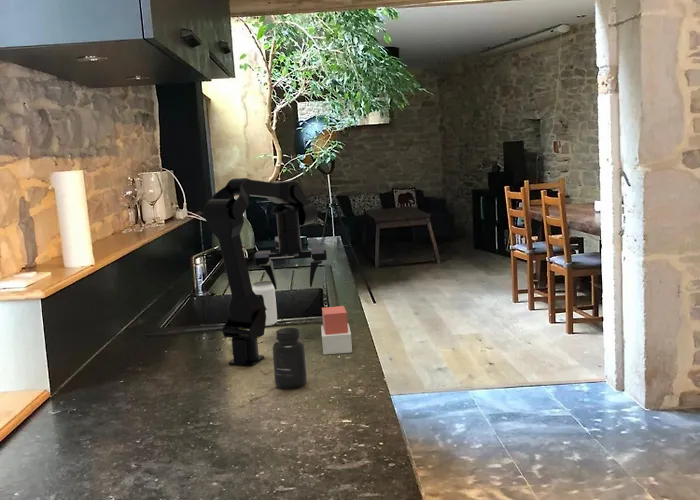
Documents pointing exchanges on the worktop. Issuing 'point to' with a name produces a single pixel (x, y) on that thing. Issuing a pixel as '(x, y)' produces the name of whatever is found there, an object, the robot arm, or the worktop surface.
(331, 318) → the salmon red block
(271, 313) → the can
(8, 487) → the worktop surface
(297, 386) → the supplement bottle
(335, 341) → the box
